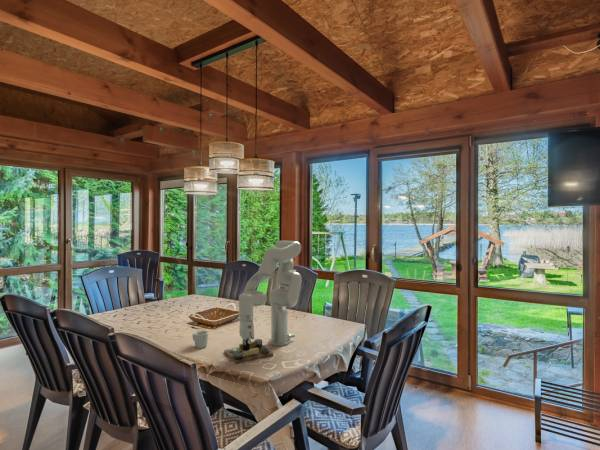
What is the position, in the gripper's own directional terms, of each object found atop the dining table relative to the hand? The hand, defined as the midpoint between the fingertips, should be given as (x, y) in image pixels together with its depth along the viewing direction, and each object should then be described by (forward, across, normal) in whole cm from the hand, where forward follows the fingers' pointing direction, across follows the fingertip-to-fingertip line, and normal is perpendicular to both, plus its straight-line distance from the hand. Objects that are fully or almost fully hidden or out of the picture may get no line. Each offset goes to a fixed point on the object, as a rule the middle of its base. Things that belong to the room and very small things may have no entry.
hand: (246, 351), depth 186 cm
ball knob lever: (+1, +6, -5) cm, 8 cm away
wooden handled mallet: (+1, -4, +1) cm, 4 cm away
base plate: (+3, +2, -2) cm, 4 cm away
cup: (+3, +28, +18) cm, 33 cm away
